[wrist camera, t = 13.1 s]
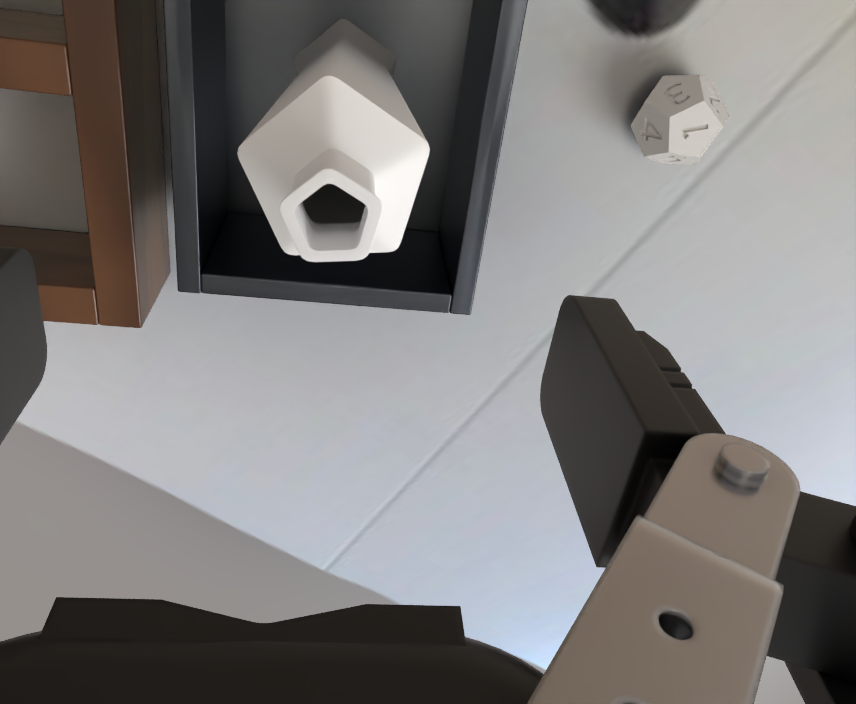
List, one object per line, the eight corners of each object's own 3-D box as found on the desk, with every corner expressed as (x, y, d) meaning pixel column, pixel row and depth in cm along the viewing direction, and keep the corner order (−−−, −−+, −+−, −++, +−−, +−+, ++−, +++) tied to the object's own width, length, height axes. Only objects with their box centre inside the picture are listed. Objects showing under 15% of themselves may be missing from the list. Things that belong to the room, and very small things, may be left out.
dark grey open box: (210, 222, 32) (177, 291, 26) (201, -158, 25) (153, -174, 19) (452, 244, 33) (470, 315, 27) (509, -110, 26) (548, -112, 20)
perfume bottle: (298, -8, 27) (238, 77, 14) (413, 31, 28) (455, 143, 15) (272, 116, 29) (200, 286, 16) (380, 147, 30) (392, 332, 17)
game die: (707, 146, 31) (738, 167, 29) (622, 160, 32) (644, 183, 29) (712, 60, 30) (745, 75, 27) (621, 74, 30) (646, 91, 27)
